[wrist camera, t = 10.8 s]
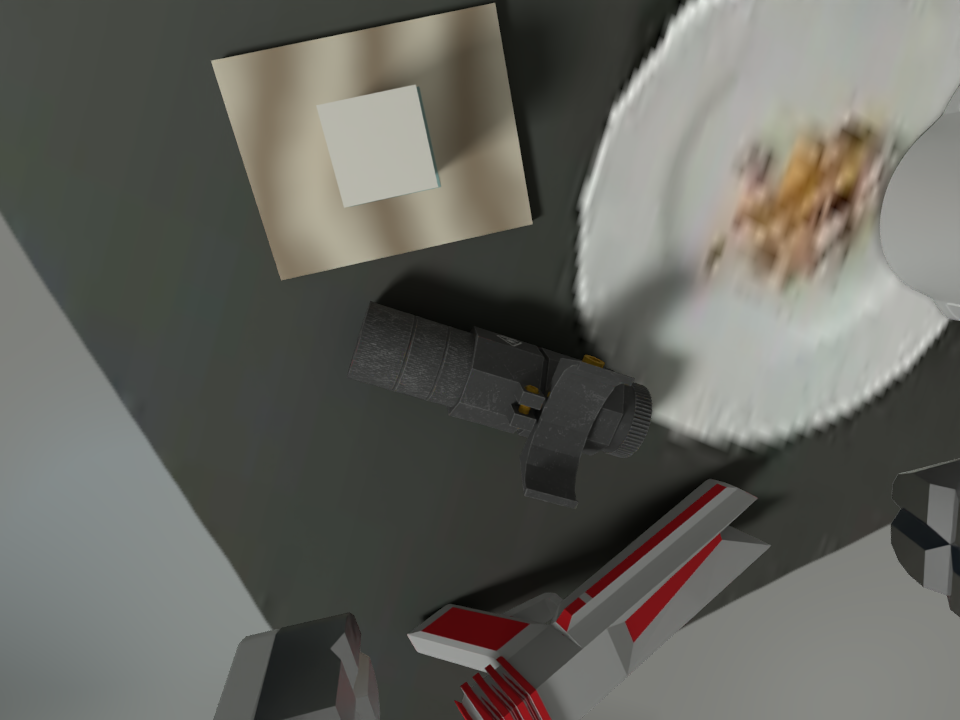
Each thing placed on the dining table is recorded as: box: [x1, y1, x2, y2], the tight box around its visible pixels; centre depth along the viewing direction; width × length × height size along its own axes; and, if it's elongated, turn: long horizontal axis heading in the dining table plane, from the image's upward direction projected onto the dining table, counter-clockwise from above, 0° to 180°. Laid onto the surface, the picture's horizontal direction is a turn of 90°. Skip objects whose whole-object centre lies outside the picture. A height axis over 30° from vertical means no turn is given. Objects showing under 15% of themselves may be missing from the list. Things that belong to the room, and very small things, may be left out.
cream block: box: [316, 84, 438, 208], centre depth 33 cm, size 5×5×5 cm
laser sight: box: [347, 301, 652, 509], centre depth 43 cm, size 10×22×10 cm, turn 70°
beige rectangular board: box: [211, 3, 533, 280], centre depth 41 cm, size 18×14×1 cm
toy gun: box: [407, 479, 771, 720], centre depth 51 cm, size 7×28×15 cm, turn 112°
